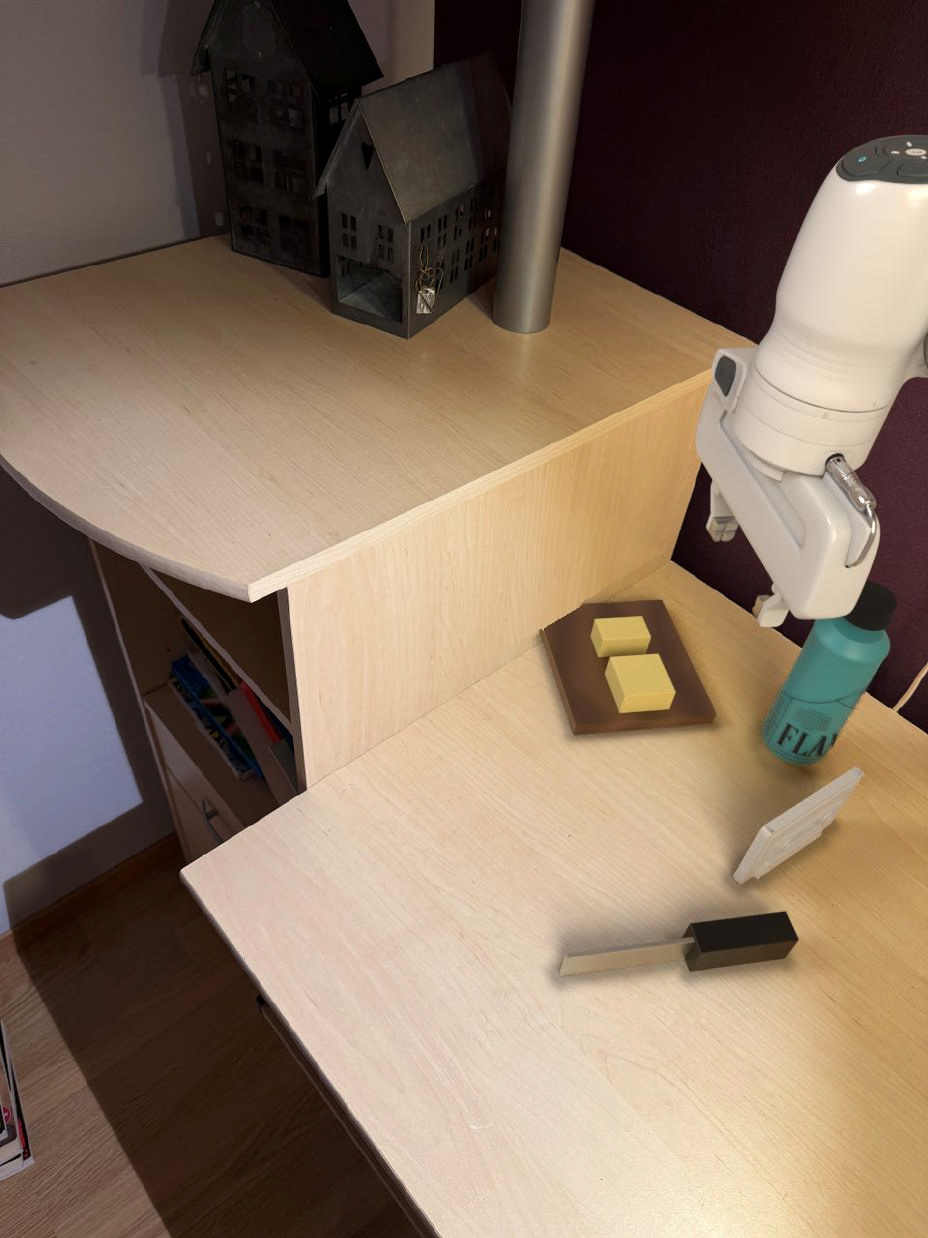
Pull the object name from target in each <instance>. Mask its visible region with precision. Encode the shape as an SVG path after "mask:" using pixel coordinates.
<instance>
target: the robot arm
mask: <svg viewBox="0 0 928 1238" xmlns="http://www.w3.org/2000/svg"><path fill="white" fill-rule="evenodd" d="M800 226H801V227H800V229H799V231H798V233H797V236H796V239H795V241H794V243H793V246H792V249H791V250H790V254H789V256H788V258H787V261H786V264H785V266H784V270H783V272H782V275H781V278H780V280H779V282H778V286H777V290H776V296H775V313H774V316H773V320H772V323H771V325H770V328H769V329H768V331H767V333H766V334H765V335H764V337H763V338H762V340H761V341H760V342H759V344H758V346H744V347H743V346H741V347H739V346H738V347H725V348H723V347H722V348H718V349H717V350H716V352H715V354H714V357H713V360H712V363H711V370H710V373H711V376H712V379H713V380H712V381H711V382H710V384H709V385H708V388H707V390H706V394H705V397H704V400H703V403H702V406H701V410H700V413H699V416H698V421H697V425H696V429H695V434H694V435H695V437H694V439H695V452H696V454H697V456H698V458H699V459H700V461H701V463H702V464H703V466H704V468H705V470H706V471H707V473H708V475H709V476H710V477H711V479H712V481H711V484H710V514H709V517H708V520H707V523H706V525H705V529H706V531H707V532H708V534H709V535H710V537H711V539H712V541H714V542H715V543H717V542H721V541H722V542H730V541H731V540H733V539H734V537H735V535H736V531H737V530H738V528H739V527H740V529H741V530H742V532H743V534H744V535H745V537H746V538H747V540H748V542H749V543H750V546H751V547H752V548H753V551H754V552H755V554H756V556H757V557H758V559H759V560H760V562H761V564H762V565H763V567H764V569H765V571H766V572H767V574H768V576H769V577H770V579H771V581H772V582H773V583H772V585H771V591H772V593H773V594H772V595H768V594H763V595H761V594H760V595H757V597H756V600H755V603H754V606H753V607H752V608H751V610H752V611H751V612H752V613H753V616H754V617H755V619H756V621H757V623H758V625H759V626H760V627H761V628H776V627H779V626H780V625H782V624H783V623H784V621H785V619H786V617H787V616H788V613H789V611H790V613H791V614H792V615H793V617H794V618H796V619H798V620H816V619H830V618H838V617H842V616H845V615H847V614H849V613H850V612H851V611H852V610H853V608H854V606H855V605H856V602H857V600H858V598H859V596H860V594H861V592H862V589H863V587H864V585H865V582H866V581H868V580H867V579H868V577H869V574H870V572H871V569H872V566H873V564H874V561H875V559H876V556H877V552H878V549H879V544H880V538H881V525H880V521H879V518H878V516H877V514H876V511H875V508H876V507H877V501H876V499H875V496H874V494H873V493H872V492H871V491H870V489H869V488H867V486H865V485H864V484H863V483H862V482H861V481H860V479H859V477H858V475H857V473H856V470H858V469H859V468H860V467H861V466H862V465H863V464H865V462H866V460H867V459H868V456H869V454H870V452H871V450H872V448H873V446H874V443H875V441H876V439H877V437H878V435H879V434H880V431H881V429H882V427H883V426H884V423H885V421H886V419H887V417H888V414H889V413H890V410H891V408H892V407H893V405H894V402H895V400H896V398H897V396H898V394H899V392H900V391H901V388H902V387H903V385H904V384H905V383H906V382H907V381H909V380H911V379H914V378H926V379H928V135H925V134H902V135H901V134H899V135H892V136H886V137H880V138H876V139H873V140H870V141H869V140H868V142H866V143H864V144H862V145H858V146H856V147H854V148H852V149H851V150H849V151H848V152H847V153H845V154H844V155H843V156H842V157H841V158H840V159H839V160H838V161H837V162H836V163H835V165H834V166H833V167H832V168H831V170H830V171H829V172H828V174H827V175H826V177H825V179H824V181H823V182H822V183H821V185H820V187H819V189H818V191H817V193H816V195H815V197H814V198H813V200H812V203H811V205H810V207H809V208H808V211H807V213H806V215H805V217H804V220H803V222H802V224H801V225H800Z"/></svg>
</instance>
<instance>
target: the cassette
mask: <svg viewBox="0 0 928 1238" xmlns="http://www.w3.org/2000/svg"><path fill="white" fill-rule="evenodd" d="M864 776H865V772H864V771H863V770H861V769H860V768H859V767H858V766H857V765H855V766H854V767H853V768H851V769H849V770H848V771H846V772H845V773H843V774H842V775H840V776H838V777H837V778H835V779H834V780H832V781H831V782H829V783H827V784H826V785H824V786H822V787H821V788H819V790H816V791H815V792H813V793H812V794H810V795H809V796H807V797H806V798H804V799H803V800H801V801H799V802H798V803H797V804H795V805H793V806H792V807H790V808H789V809H787V810H786V811H784V812H782V813H781V814H779V815H778V816H777V817H775V818H773V819H772V820H770V821H768V822H767V823H765V824H764V825H762V826H761V828H759V830H758V832H757V834H756V836H755V838H754V839H753V841H752V843H751V844H750V846H749V848H748V849H747V850H746V853H745V855H744V856H743V858H742V860H741V862H740V863H739V864H738V867H737V868H736V870H735V872H734V873H733V876H732V878H733V879H734V880H735V882H737V883H738V885H740V886H742V885H743V884H744V883H746V882H747V881H749V880H751V879H752V878H755V879H757V880H759V879H760V878H762V877H763V876H765V875H766V874H768V873H769V872H770V871H772V870H773V869H775V868H776V867H778V866H779V865H781V864H782V863H784V862H785V861H786V860H788V859H789V858H791V857H792V856H793V855H795V854H796V853H798V852H799V851H801V850H802V849H804V848H805V847H807V846H808V845H810V844H811V843H813V842H814V841H816V840H817V839H818V838H820V837H821V836H822V834H823V830H825V829H826V828H827V827H828V826H830V825H832V823H833V822H834V820H835V819H836V817H837V815H838V814H839V812H840V811H841V810H842V808H843V806H844V805H845V804H846V802H847V801H848V799H849V798H850V796H851V795H852V793H853V792H854V790H855V788H857V786H858V784H859V783H860V782H861V780H862V778H863V777H864Z"/></svg>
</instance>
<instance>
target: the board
mask: <svg viewBox="0 0 928 1238" xmlns="http://www.w3.org/2000/svg"><path fill="white" fill-rule="evenodd" d="M582 604H583V605H581V606H580V607H579V608H577V609H576V610H574V611H572V612H571V613H569V614H567V615H566V616H564V617H562V618H561V619H558V620H557V621H555V622H554V623H552V624H550V625H548V626H547V627H546V628H544V631H543V630H542V629H540V630H539V629H538V630H539V633H540V636H541V639H542V642H543V645H544V649H545V653H546V655H547V657H548V658H547V659H548V660H549V664H550V667H551V670H552V674H553V676H554V680H555V682H556V686H557V688H558V689H557V690H558V692H559V695H560V698H561V701H562V705H563V707H564V710H565V713H566V716H567V719H568V723H569V725H570V728H571V731H572V735H573V736H581V735H591V734H592V735H593V734H605V733H617V732H628V731H629V732H630V731H640V730H641V731H642V730H653V729H665V728H676V727H677V728H678V727H689V726H690V727H691V726H700V725H712V724H713V723H714V721H715V719H716V716H717V711H716V710H715V707H714V705H713V703H712V701H711V700H710V697H709V695H708V693H707V691H706V689H705V687H704V685H703V682H702V680H701V678H700V675H699V674H698V672H697V670H696V668H695V666H694V664H693V662H692V659H691V656H690V655H689V653H688V651H687V649H686V646H685V645H684V642H683V640H682V638H681V636H680V634H679V632H678V630H677V627H676V626H675V624H674V621H673V619H672V617H671V615H670V613H669V611H668V609H667V606H666V605H665V603H664V600H663V599H647V600H646V599H645V600H627V601H611V602H609V601H608V602H593V603H592V602H590V603H589V602H588V603H582ZM637 616H642V618H643V620H644V622H645V624H646V627H647V629H648V631H649V633H650V636H651V639H650V642H649V645H648V648H647V651H646V654H659V656H660V658H661V660H662V663H663V665H664V667H665V669H666V672H667V674H668V676H669V678H670V681H671V683H672V685H673V687H674V690H675V692H676V693H675V695H674V698H673V700H672V703H671V706H670V708H669V709H665V710H653V711H640V712H627V713H619V710H618V708H617V705H616V702H615V700H614V697H613V694H612V692H611V689H610V687H609V684H608V681H607V679H606V676H605V672H606V668H607V665H608V662H609V658H610V657H615V656H610V657H598V655H597V652H596V650H595V647H594V644H593V642H592V639H591V632H592V628H593V625H594V621H595V619H602V618H619V617H637ZM640 655H645V654H640ZM625 656H630V655H625Z"/></svg>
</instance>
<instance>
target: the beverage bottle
mask: <svg viewBox="0 0 928 1238" xmlns="http://www.w3.org/2000/svg"><path fill="white" fill-rule="evenodd" d="M897 609H898V599H897V597H896V595H895V594H894V593H893V592H892V591H891V590H890V589H888V587H886V586H885V585H882V584H880V583H878V582H875V581H870V580H866V582H865V585H864V587H863V589H862V592H861V594H860V596H859V598H858V600H857V602H856V605H855V606H854V608H853V610H852V611H851V612H850V613H849V614H847V615H845V616H842V617H838V618H830V619H814V623H813V626H812V628H811V630H810V632H809V634H808V636H807V637H806V640H805V642H804V643H803V646H802V648H801V650H800V651H799V653H798V655H797V657H796V659H795V661H794V664H793V665H792V668H791V669H790V671H789V673H788V674H787V675H786V676H785V679H784V681H783V683H782V685H781V687H780V689H779V691H778V693H777V694H776V696H775V699H774V700H773V702H772V705H771V706H770V708H769V710H768V711H767V714H766V717H765V719H763V723H762V725H761V737H762V740H763V742H764V744H765V746H766V747H767V749H768V750H769V751H770V752H771V753H772V754H773V755H774V756H775V757H777V758H778V759H780V760H781V761H783V762H785V763H788V764H791V765H795V766H804V767H805V766H812V765H815V764H817V763H818V762H821V761H822V760H824V758H825V757H826V756H827V755H828V753H829V751H830V750H832V749H833V747H834V746H835V743H836V741H837V739H839V738H840V735H841V734H842V733H843V731H844V729H843V728H844V727H846V725H847V724H848V723H849V721H850V717H851V715H854V710H856V709H857V705H858V704H859V703H860V702H861V701H862V699H861V698H862V696H865V695H866V693H867V692H868V690H869V689H870V687H871V685H872V684H873V680H875V678H876V677H875V675H876V676H877V671H878V669H879V671H880V667H881V665H882V662H883V661H884V659H886V657H888V654H889V653H890V649H891V642H890V641H891V640H890V638H889V636H888V634H887V631H886V630H885V629H887V628H888V627H889V626H890V624H891V622H892V620H893V619H894V615H895V613H896V610H897ZM874 677H875V678H874ZM868 686H869V687H868Z"/></svg>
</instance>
